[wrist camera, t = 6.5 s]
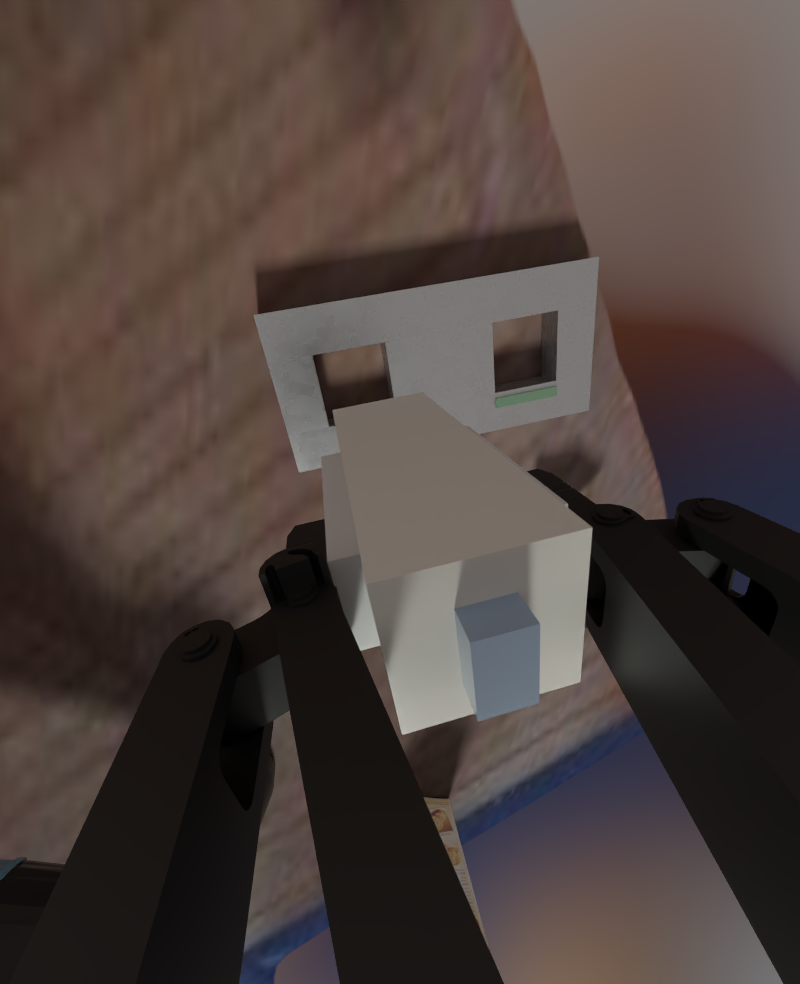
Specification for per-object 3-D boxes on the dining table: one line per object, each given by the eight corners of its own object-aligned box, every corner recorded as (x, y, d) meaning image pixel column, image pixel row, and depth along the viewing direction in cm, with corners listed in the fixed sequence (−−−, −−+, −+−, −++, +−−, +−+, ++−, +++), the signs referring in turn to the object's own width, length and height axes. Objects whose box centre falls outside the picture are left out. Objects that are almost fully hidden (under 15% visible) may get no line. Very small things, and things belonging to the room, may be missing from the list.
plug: (351, 492, 19) (410, 775, 8) (332, 409, 17) (372, 618, 6) (432, 473, 19) (604, 715, 8) (422, 392, 18) (624, 553, 6)
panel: (300, 461, 35) (299, 473, 33) (257, 314, 30) (253, 315, 27) (572, 404, 38) (590, 410, 35) (579, 259, 32) (600, 256, 30)
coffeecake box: (410, 795, 60) (450, 992, 43) (450, 797, 63) (502, 985, 46) (371, 851, 65) (393, 1049, 48) (410, 851, 68) (443, 1040, 50)
